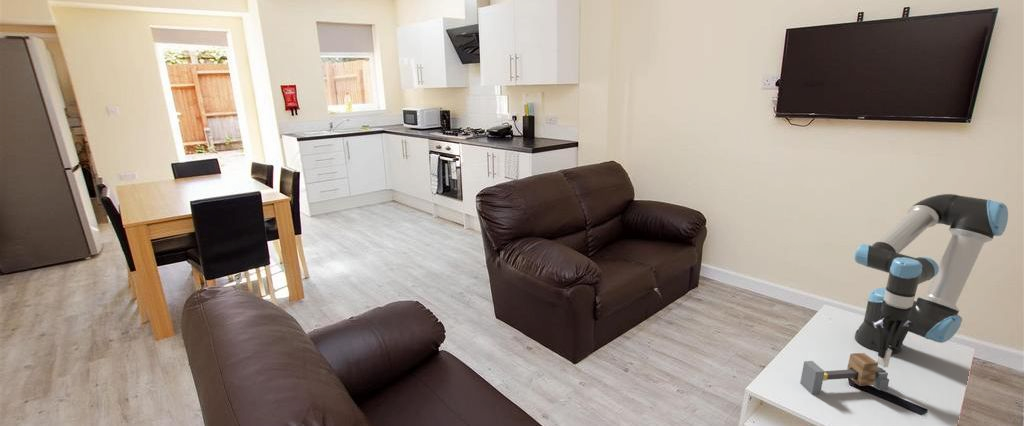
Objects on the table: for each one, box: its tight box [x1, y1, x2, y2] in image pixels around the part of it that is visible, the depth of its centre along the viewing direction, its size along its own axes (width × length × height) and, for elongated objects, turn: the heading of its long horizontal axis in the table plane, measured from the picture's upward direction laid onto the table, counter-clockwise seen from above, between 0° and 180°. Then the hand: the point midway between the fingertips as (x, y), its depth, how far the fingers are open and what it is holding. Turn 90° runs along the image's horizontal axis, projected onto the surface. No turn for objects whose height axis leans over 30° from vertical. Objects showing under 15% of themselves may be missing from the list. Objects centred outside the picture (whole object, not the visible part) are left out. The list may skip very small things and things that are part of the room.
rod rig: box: [799, 360, 890, 395], centre depth 159 cm, size 27×6×9 cm, turn 93°
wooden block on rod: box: [846, 352, 879, 387], centre depth 159 cm, size 5×6×9 cm
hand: (882, 364), depth 159 cm, fingers closed
